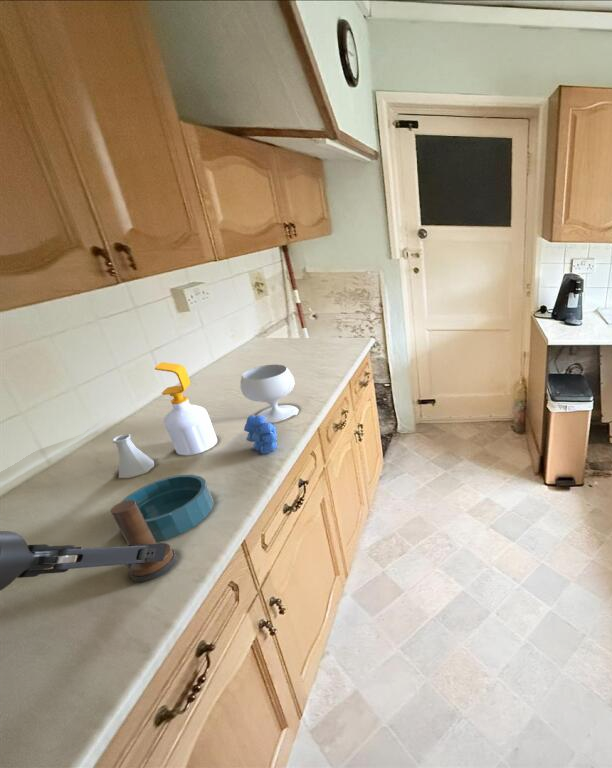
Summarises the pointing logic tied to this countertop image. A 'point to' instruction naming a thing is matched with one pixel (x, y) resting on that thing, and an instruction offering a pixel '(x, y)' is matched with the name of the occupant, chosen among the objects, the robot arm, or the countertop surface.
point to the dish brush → (141, 541)
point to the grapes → (261, 434)
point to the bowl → (173, 504)
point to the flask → (131, 458)
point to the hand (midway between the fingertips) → (120, 554)
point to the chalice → (269, 390)
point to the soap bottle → (186, 417)
